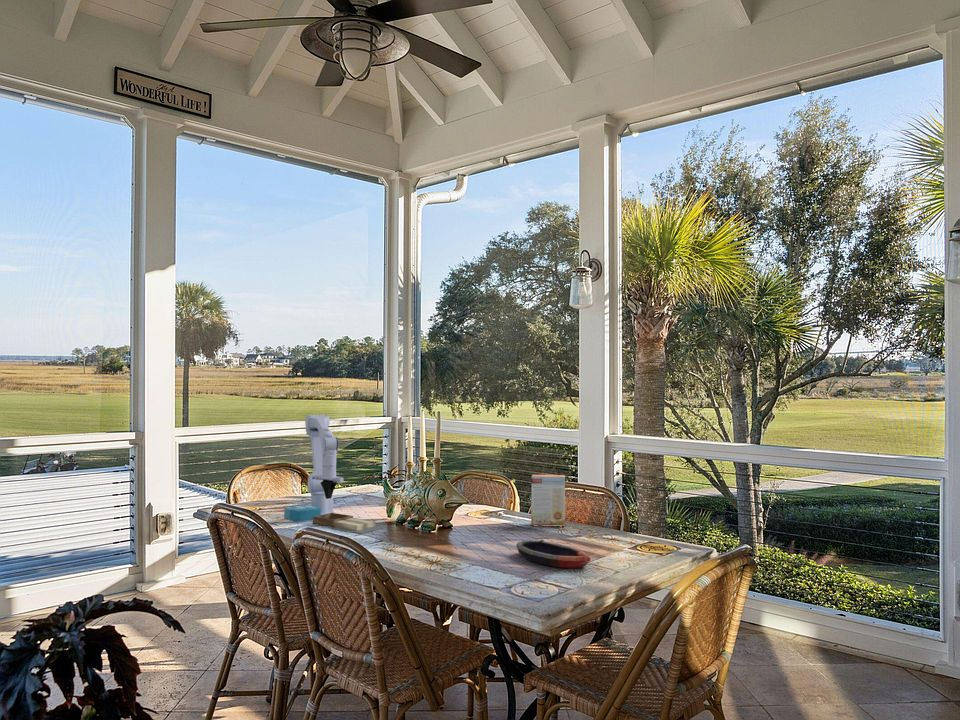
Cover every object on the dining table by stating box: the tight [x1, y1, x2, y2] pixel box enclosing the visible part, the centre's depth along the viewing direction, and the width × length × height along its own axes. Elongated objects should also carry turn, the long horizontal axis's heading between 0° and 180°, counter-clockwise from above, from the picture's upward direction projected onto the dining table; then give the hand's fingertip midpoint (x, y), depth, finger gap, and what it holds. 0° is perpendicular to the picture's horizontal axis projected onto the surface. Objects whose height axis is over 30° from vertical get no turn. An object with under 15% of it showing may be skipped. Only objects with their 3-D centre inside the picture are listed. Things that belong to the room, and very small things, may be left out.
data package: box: [283, 504, 321, 523], centre depth 314 cm, size 12×4×12 cm
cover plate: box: [335, 517, 377, 531], centre depth 297 cm, size 11×12×2 cm
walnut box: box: [312, 512, 354, 528], centre depth 304 cm, size 11×12×3 cm
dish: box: [515, 539, 591, 569], centre depth 248 cm, size 16×31×5 cm, turn 40°
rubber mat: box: [330, 523, 389, 535], centre depth 296 cm, size 16×16×1 cm
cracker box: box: [530, 474, 566, 526], centre depth 307 cm, size 14×6×21 cm, turn 84°
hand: (328, 498), depth 309 cm, fingers closed
